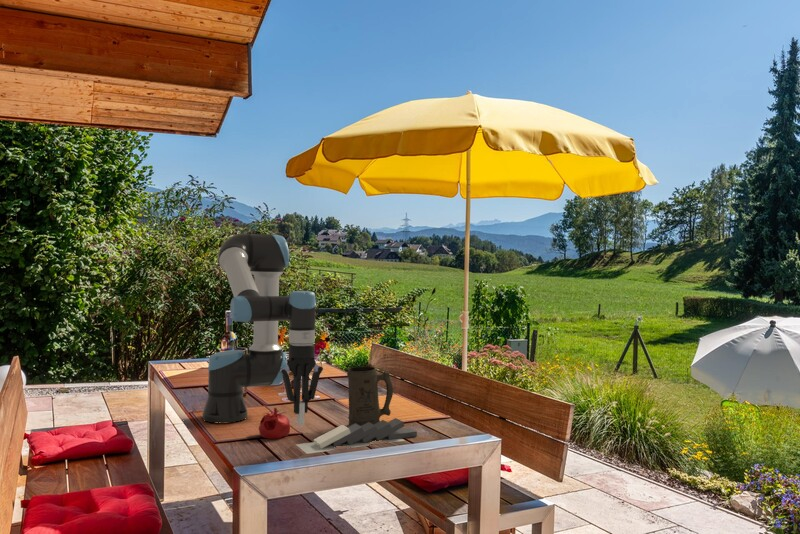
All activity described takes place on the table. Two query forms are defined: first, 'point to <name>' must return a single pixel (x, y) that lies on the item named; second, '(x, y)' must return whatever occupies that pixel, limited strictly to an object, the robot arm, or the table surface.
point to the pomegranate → (274, 425)
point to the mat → (314, 448)
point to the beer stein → (367, 395)
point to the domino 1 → (331, 436)
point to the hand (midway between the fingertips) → (300, 424)
